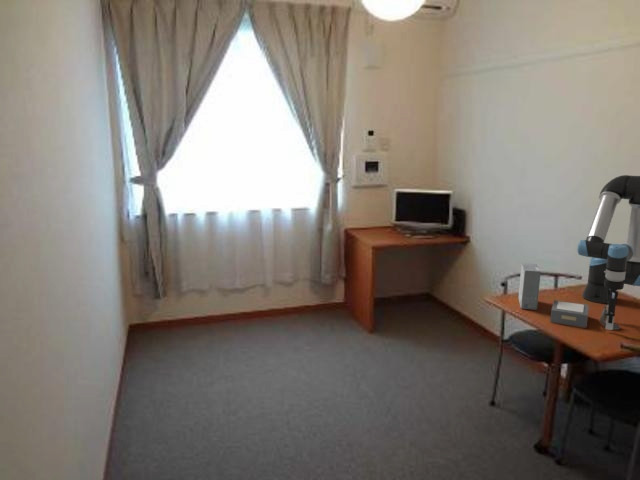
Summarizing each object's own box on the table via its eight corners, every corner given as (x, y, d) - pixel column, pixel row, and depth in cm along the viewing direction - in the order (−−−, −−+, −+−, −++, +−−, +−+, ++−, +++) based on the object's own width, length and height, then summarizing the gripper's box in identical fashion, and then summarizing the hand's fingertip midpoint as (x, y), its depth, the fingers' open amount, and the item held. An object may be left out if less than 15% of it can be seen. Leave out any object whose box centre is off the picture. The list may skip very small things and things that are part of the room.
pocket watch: (622, 331, 224) (625, 309, 221) (601, 329, 225) (604, 308, 223) (615, 323, 231) (618, 303, 229) (595, 322, 233) (598, 302, 231)
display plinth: (587, 316, 240) (588, 304, 238) (586, 328, 227) (587, 314, 225) (552, 311, 247) (554, 299, 246) (550, 322, 234) (551, 309, 233)
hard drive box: (537, 310, 249) (541, 271, 244) (520, 309, 251) (524, 270, 246) (533, 300, 263) (536, 263, 259) (517, 298, 265) (520, 262, 261)
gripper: (604, 270, 236) (599, 313, 240) (604, 285, 214) (599, 332, 219) (623, 273, 232) (617, 316, 237) (625, 288, 211) (619, 335, 216)
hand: (608, 324), depth 228 cm, fingers open, 13 cm apart
